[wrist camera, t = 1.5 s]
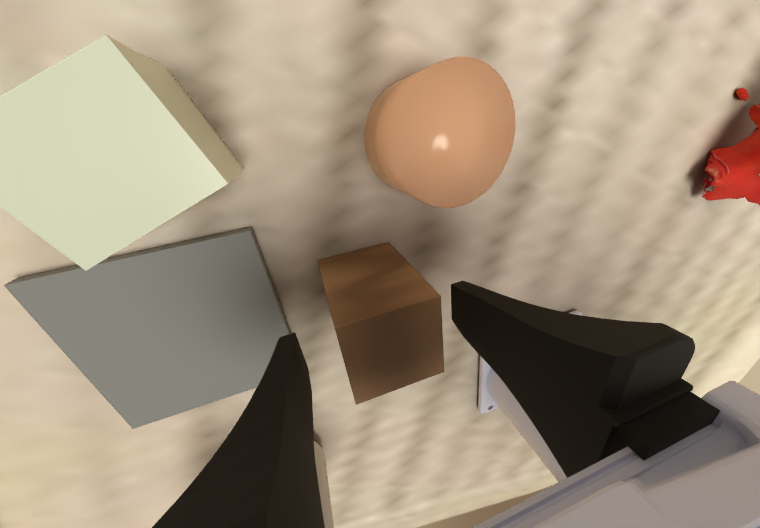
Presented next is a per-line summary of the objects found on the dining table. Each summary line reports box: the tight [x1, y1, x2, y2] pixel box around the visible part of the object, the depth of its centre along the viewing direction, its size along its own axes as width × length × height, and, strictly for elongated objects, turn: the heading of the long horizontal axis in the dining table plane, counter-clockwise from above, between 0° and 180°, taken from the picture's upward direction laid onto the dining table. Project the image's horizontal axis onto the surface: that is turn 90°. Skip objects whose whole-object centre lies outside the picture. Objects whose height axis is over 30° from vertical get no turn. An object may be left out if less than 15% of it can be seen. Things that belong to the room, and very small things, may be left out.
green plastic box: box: [0, 35, 244, 271], centre depth 9 cm, size 5×4×4 cm
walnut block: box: [317, 242, 444, 404], centre depth 13 cm, size 4×4×6 cm
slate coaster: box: [4, 227, 291, 429], centre depth 14 cm, size 9×9×1 cm
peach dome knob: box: [365, 57, 515, 208], centre depth 12 cm, size 5×5×4 cm
